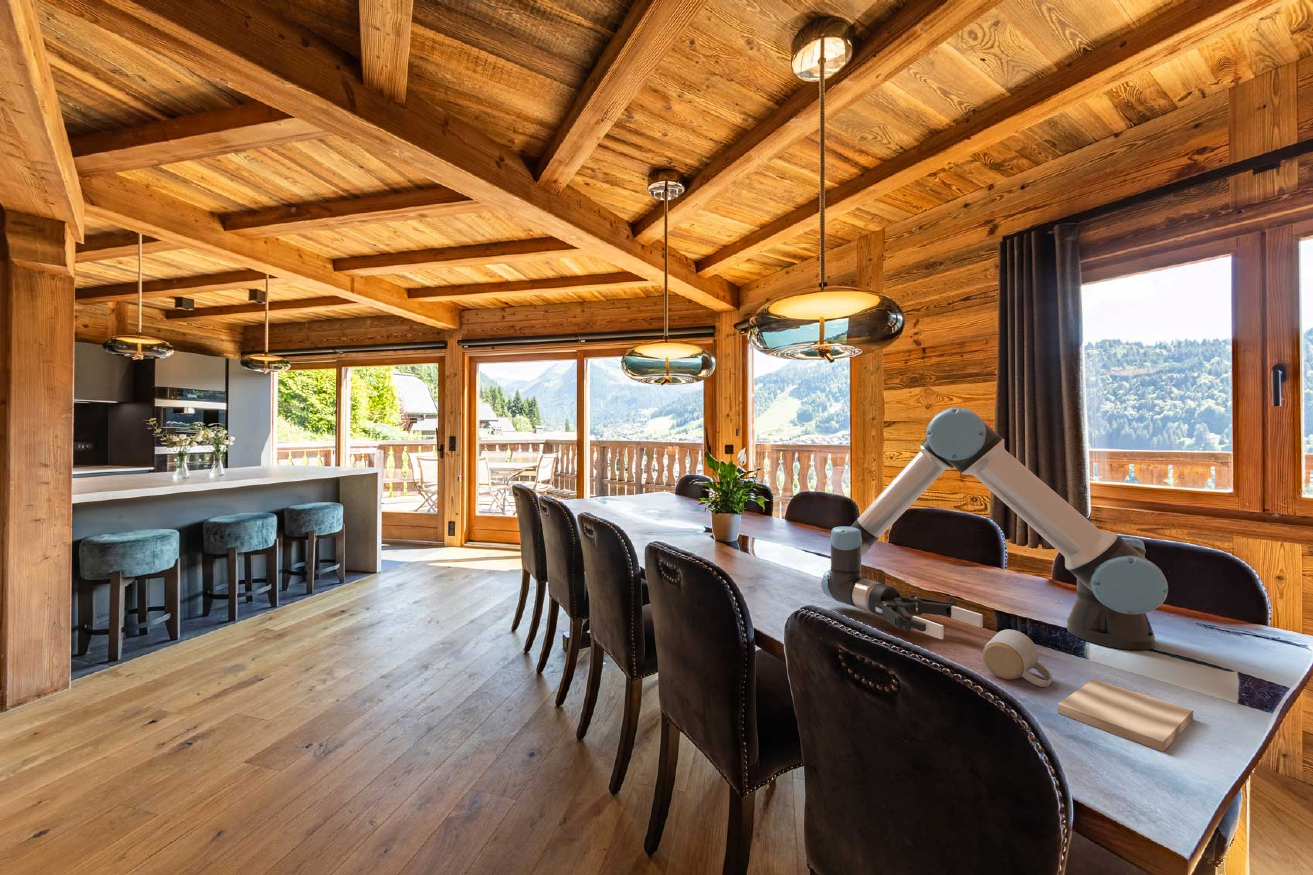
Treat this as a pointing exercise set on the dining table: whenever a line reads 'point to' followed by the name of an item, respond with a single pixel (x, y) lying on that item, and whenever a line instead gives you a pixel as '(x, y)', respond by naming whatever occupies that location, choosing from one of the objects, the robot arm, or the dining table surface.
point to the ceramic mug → (1014, 657)
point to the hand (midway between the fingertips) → (962, 626)
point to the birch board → (1127, 714)
